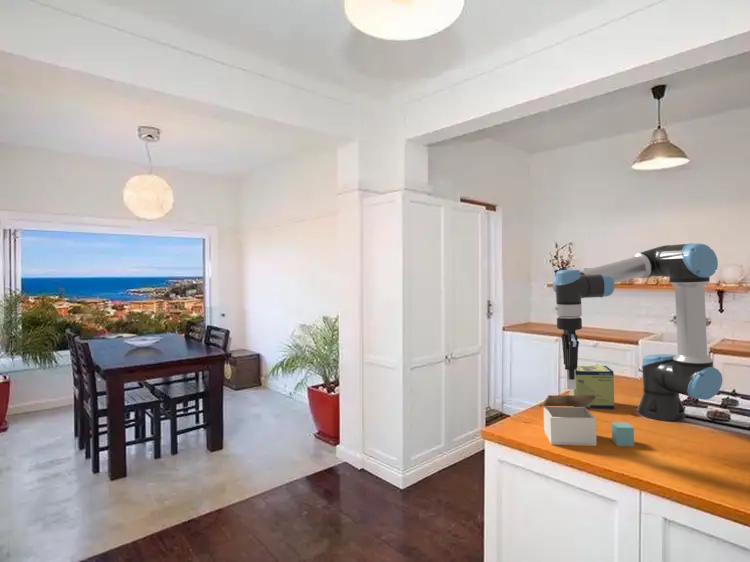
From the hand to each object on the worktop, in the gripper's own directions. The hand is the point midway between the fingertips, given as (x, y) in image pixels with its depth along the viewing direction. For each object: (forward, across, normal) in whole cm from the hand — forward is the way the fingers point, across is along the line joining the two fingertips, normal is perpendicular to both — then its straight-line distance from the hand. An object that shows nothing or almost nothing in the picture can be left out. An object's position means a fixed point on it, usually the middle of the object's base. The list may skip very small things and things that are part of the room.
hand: (571, 388), depth 150 cm
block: (+19, -2, +16) cm, 25 cm away
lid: (+6, -5, 0) cm, 8 cm away
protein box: (+19, -44, +18) cm, 51 cm away
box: (+19, -5, 0) cm, 19 cm away
